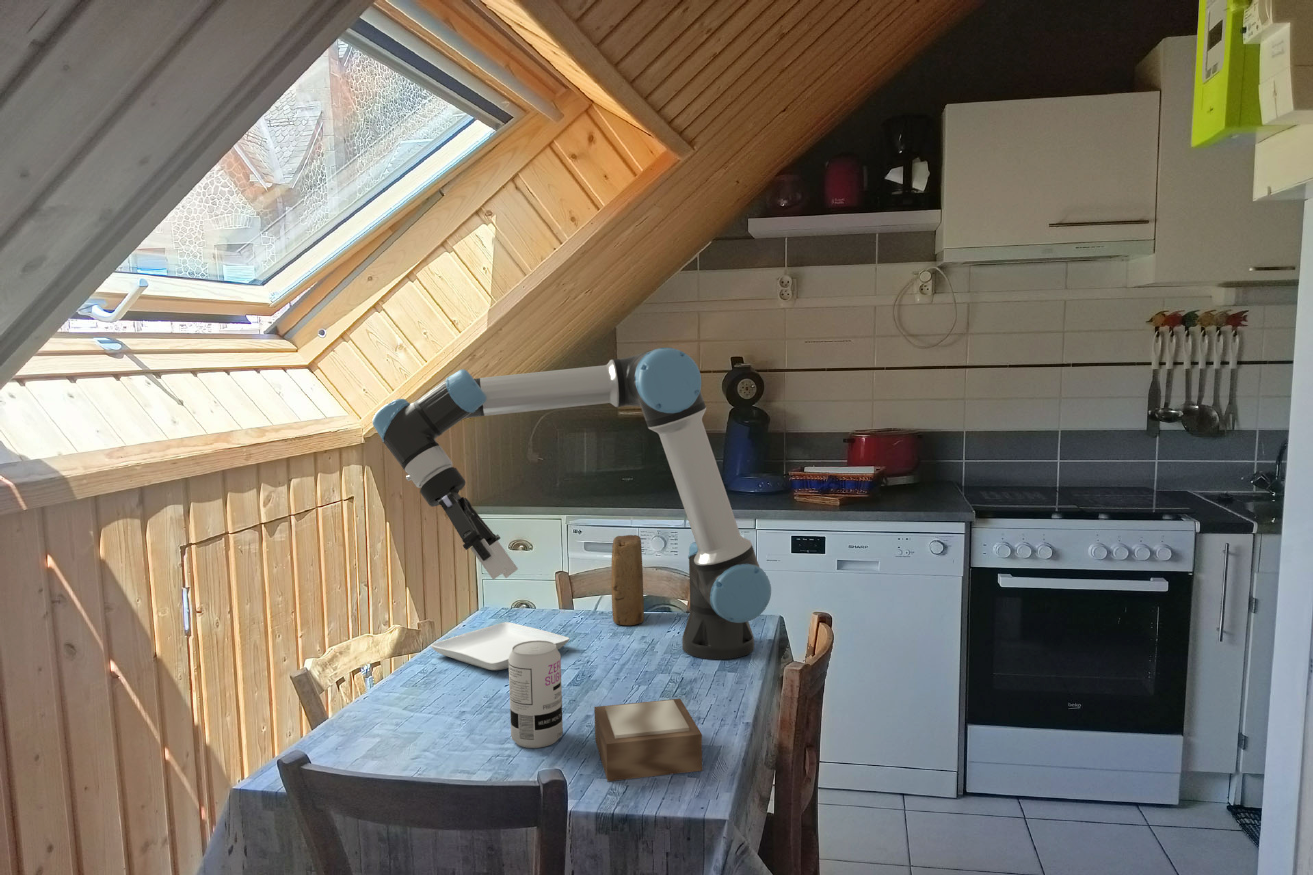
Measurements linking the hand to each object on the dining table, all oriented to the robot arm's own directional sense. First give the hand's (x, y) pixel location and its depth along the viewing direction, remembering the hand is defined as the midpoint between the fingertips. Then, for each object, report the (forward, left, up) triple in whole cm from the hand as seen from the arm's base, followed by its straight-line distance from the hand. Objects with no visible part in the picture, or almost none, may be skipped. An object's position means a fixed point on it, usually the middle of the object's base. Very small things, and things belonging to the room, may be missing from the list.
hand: (506, 574), depth 149 cm
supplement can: (-4, +15, -24) cm, 28 cm away
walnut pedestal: (-20, +25, -23) cm, 40 cm away
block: (-29, -46, -24) cm, 59 cm away
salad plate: (+1, -29, -24) cm, 38 cm away
